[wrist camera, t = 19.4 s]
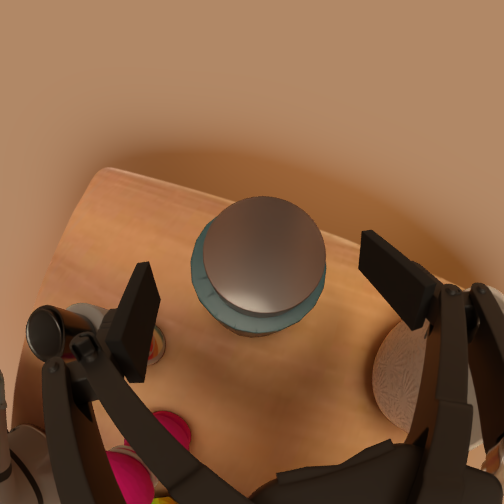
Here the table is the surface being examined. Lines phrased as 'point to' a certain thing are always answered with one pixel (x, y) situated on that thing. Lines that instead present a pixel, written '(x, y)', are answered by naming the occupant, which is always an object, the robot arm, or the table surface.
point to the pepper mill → (133, 468)
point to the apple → (163, 501)
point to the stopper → (263, 256)
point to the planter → (412, 375)
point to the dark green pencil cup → (235, 319)
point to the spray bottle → (72, 331)
